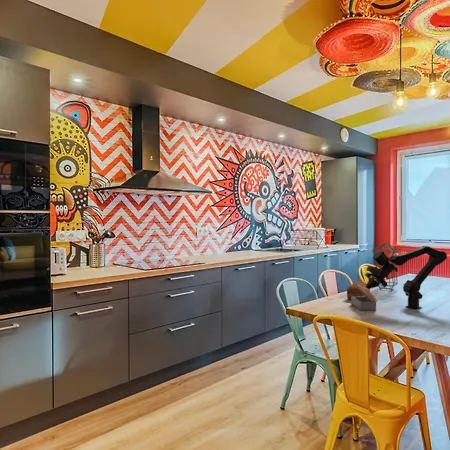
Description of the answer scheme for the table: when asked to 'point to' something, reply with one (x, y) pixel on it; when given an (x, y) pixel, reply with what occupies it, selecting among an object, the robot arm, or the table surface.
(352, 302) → the storage box
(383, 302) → the table surface
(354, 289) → the bread
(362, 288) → the lid
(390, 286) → the geometric lantern
